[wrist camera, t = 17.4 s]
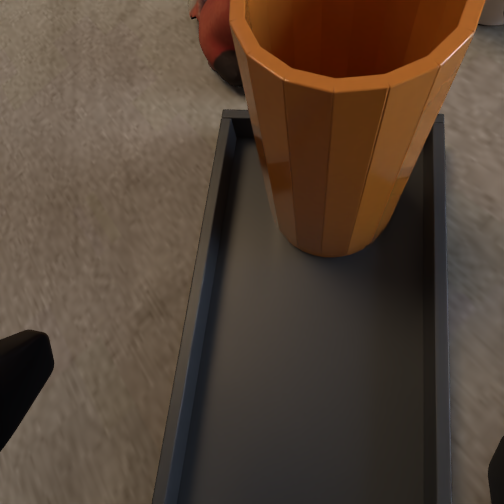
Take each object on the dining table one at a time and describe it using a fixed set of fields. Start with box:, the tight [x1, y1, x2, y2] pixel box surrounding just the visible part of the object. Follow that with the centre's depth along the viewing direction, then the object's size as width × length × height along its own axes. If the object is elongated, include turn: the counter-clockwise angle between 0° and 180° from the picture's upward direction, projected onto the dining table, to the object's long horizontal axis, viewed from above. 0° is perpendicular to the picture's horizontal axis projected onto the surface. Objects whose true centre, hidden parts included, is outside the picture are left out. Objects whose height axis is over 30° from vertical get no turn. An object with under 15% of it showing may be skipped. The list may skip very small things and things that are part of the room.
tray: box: [152, 110, 452, 504], centre depth 20 cm, size 27×12×3 cm, turn 173°
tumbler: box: [229, 0, 486, 257], centre depth 17 cm, size 7×7×13 cm
